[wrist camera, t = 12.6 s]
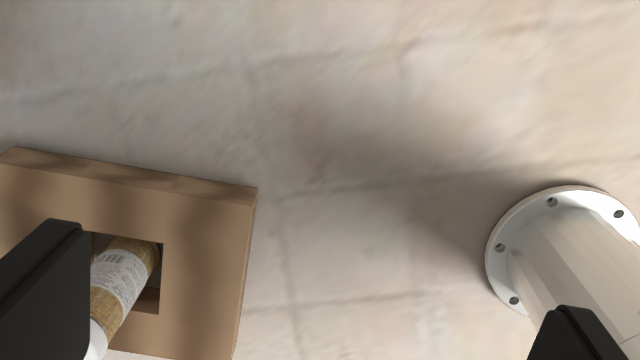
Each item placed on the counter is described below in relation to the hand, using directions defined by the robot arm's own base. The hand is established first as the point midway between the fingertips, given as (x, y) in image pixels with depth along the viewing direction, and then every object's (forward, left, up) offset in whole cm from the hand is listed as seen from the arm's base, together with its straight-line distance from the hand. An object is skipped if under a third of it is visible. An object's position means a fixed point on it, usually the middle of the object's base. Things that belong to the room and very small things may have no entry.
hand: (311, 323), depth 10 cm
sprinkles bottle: (+14, +19, -31) cm, 38 cm away
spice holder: (+14, +19, -30) cm, 38 cm away
